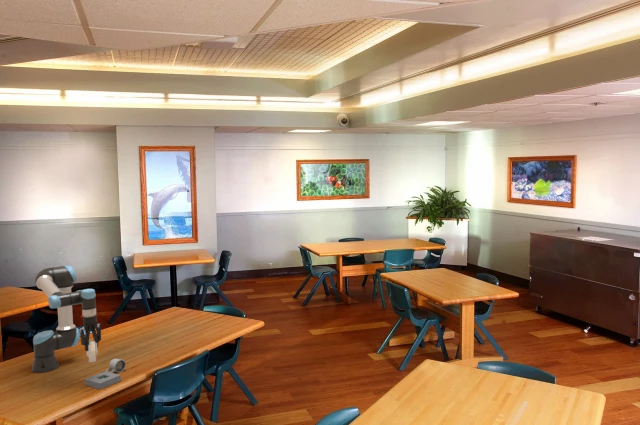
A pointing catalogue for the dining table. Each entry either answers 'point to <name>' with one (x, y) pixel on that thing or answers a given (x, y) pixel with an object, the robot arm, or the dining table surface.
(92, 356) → the dowel pin
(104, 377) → the bore block
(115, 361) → the ceramic mug
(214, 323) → the dining table surface
